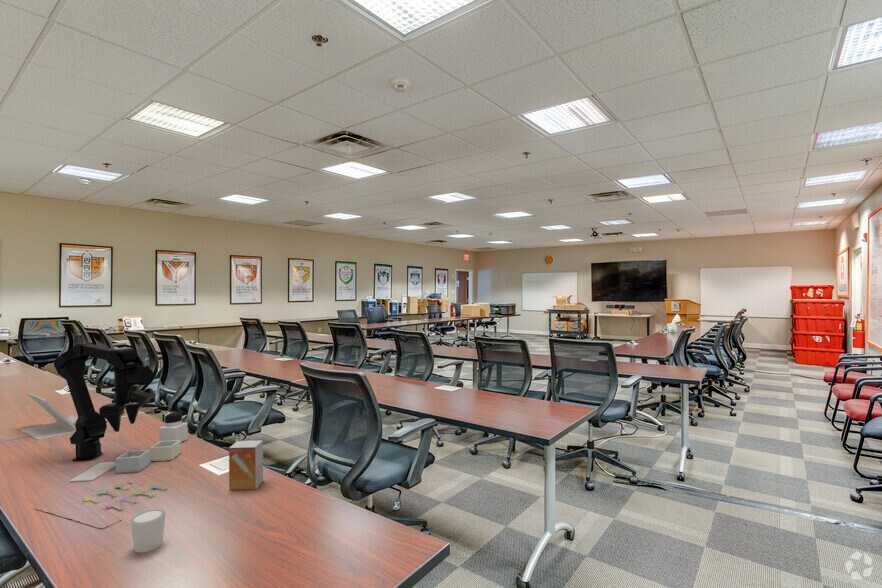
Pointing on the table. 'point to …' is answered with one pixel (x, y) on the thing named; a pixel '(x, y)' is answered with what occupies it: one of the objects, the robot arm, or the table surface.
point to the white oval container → (148, 530)
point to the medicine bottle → (173, 428)
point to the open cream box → (165, 450)
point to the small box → (245, 465)
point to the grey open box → (133, 461)
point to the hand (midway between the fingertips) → (125, 427)
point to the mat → (94, 472)
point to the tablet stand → (53, 429)
